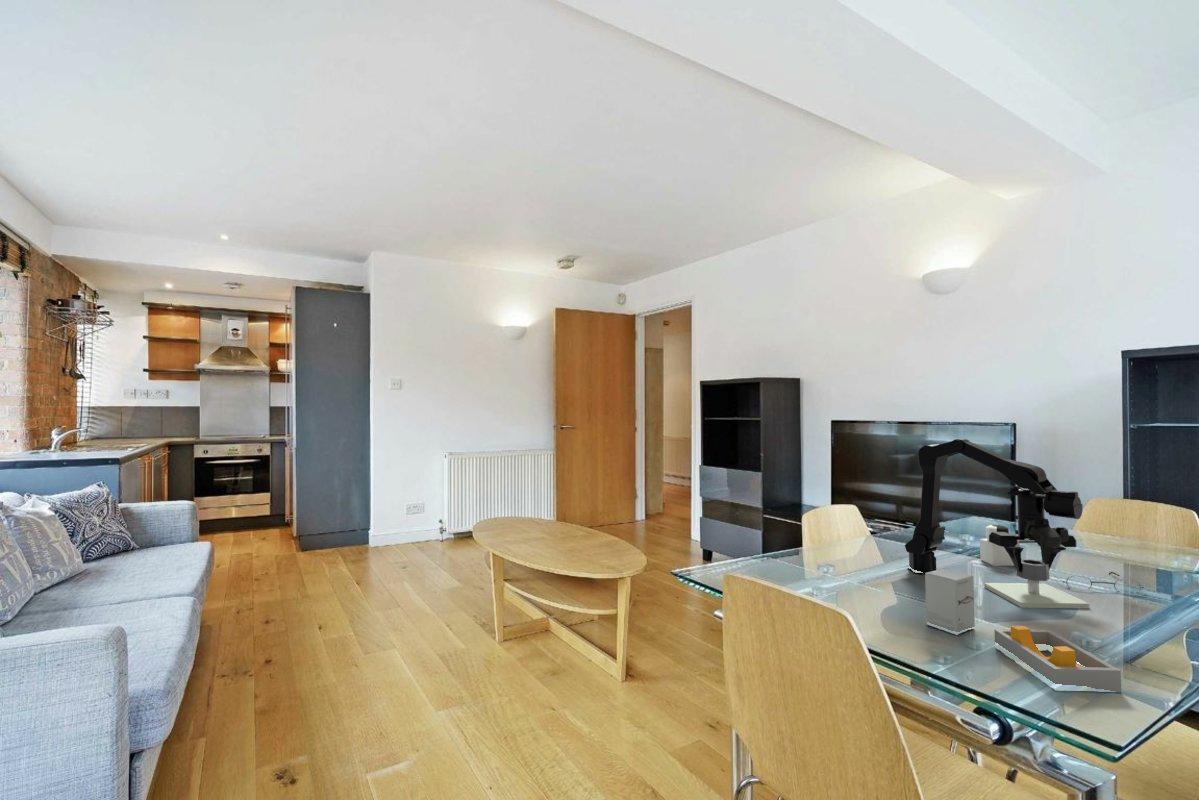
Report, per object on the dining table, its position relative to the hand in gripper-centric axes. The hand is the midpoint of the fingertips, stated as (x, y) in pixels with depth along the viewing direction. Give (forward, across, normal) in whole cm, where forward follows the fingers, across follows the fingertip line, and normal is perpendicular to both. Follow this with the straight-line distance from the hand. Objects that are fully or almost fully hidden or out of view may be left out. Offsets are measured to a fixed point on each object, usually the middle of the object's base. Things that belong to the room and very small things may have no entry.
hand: (1032, 571), depth 149 cm
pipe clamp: (+7, -24, -43) cm, 50 cm away
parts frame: (+7, -23, -42) cm, 48 cm away
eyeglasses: (+8, +24, +15) cm, 29 cm away
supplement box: (+7, -32, -22) cm, 39 cm away
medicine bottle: (+7, +10, +33) cm, 35 cm away
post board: (+7, 0, 0) cm, 7 cm away
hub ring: (+2, 0, 0) cm, 2 cm away
